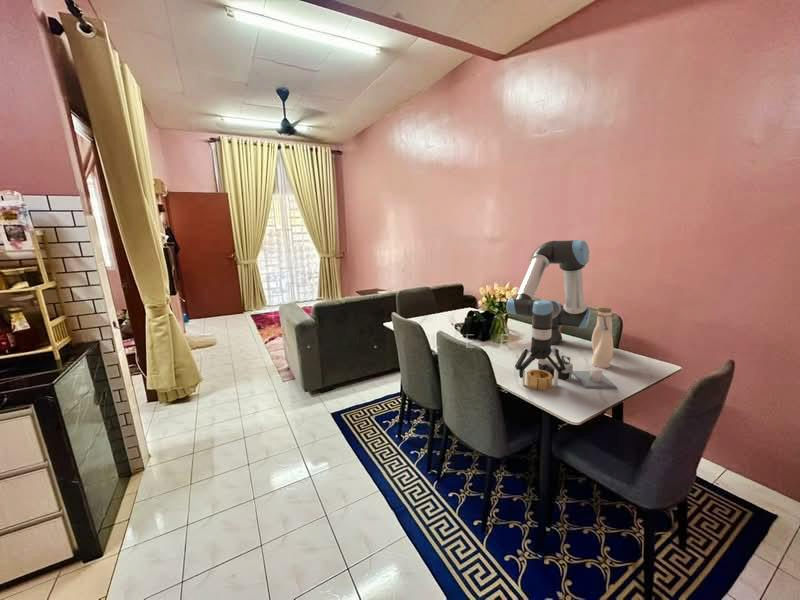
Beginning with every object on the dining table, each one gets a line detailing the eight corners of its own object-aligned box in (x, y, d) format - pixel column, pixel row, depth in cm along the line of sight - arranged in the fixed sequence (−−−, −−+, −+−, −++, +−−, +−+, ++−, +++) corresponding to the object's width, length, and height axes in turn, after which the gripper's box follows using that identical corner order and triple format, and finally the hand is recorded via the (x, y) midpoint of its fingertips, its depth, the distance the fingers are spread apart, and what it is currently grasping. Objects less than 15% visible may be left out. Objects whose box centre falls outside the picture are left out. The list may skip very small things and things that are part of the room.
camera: (534, 370, 154) (535, 350, 152) (545, 367, 157) (546, 347, 155) (562, 382, 141) (564, 361, 139) (574, 378, 144) (575, 357, 142)
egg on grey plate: (571, 372, 149) (572, 360, 148) (598, 373, 148) (599, 360, 147) (585, 387, 135) (586, 374, 134) (616, 388, 133) (617, 374, 132)
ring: (524, 379, 144) (525, 369, 143) (547, 380, 143) (547, 369, 142) (530, 390, 135) (530, 378, 134) (554, 390, 134) (555, 379, 133)
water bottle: (616, 370, 150) (621, 311, 145) (594, 369, 152) (599, 311, 146) (607, 361, 160) (612, 306, 154) (587, 360, 162) (591, 306, 156)
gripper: (512, 340, 133) (511, 388, 137) (576, 340, 130) (572, 389, 134) (508, 334, 140) (507, 380, 144) (569, 334, 137) (566, 381, 141)
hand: (539, 384), depth 139 cm, fingers open, 13 cm apart
